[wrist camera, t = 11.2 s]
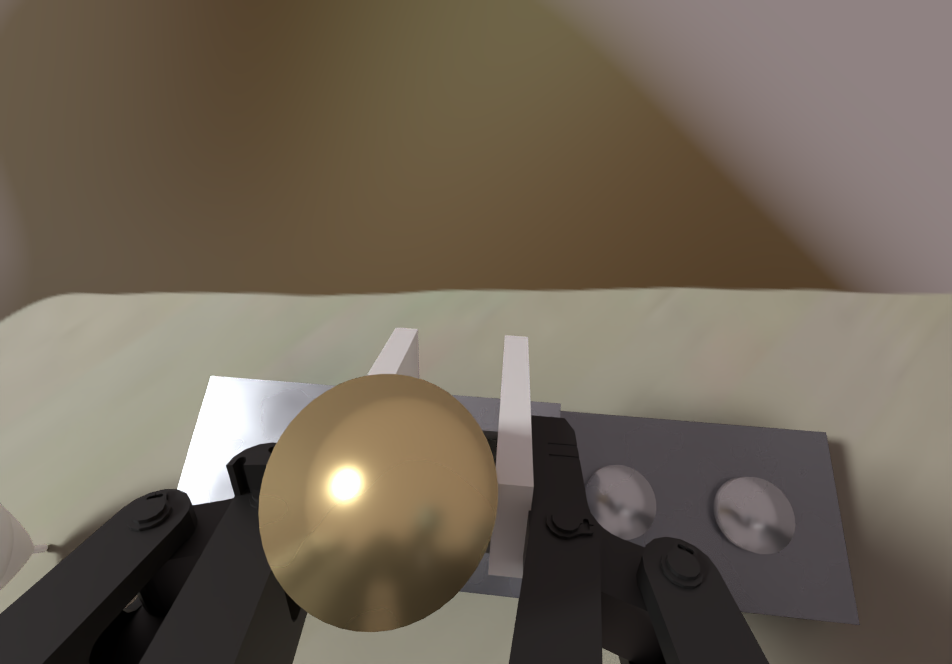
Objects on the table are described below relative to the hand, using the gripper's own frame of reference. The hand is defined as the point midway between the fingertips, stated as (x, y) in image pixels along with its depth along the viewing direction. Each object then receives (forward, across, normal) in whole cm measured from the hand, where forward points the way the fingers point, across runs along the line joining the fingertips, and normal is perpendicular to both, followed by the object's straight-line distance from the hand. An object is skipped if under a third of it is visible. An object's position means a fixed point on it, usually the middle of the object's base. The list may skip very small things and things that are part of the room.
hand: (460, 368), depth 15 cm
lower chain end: (+4, +7, -10) cm, 12 cm away
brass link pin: (0, 0, -5) cm, 5 cm away
